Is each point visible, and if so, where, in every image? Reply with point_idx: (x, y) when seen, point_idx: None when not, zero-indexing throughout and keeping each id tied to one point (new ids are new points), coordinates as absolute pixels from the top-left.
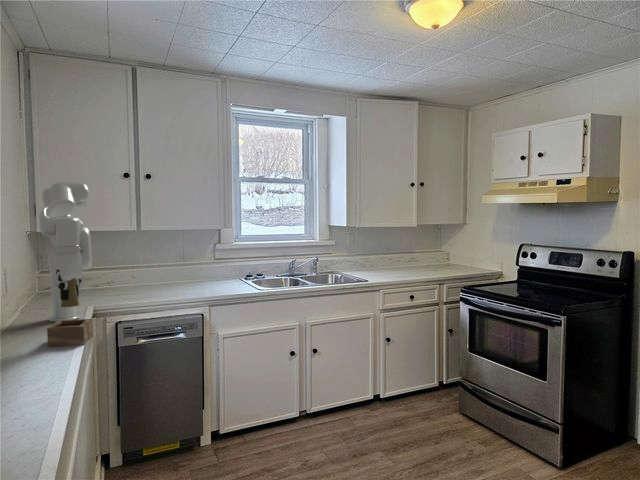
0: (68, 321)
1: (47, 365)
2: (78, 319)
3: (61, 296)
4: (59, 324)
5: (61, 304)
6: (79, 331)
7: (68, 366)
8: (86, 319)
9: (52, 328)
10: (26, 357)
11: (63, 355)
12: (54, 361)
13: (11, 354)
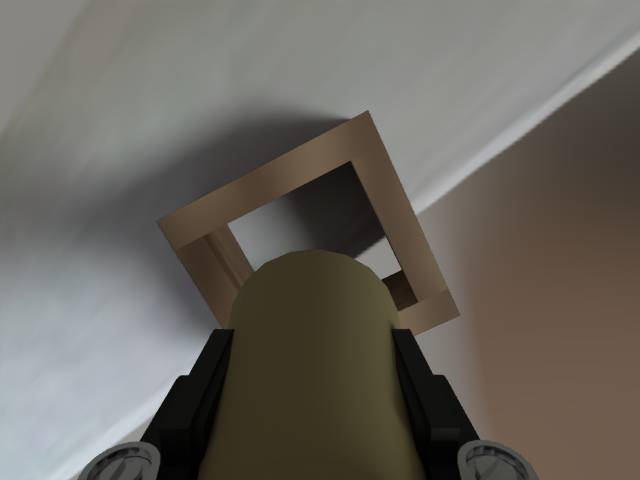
0: (369, 200)
1: (16, 396)
2: (421, 241)
3: (177, 391)
4: (301, 184)
5: (237, 301)
6: None
7: (43, 471)
8: (432, 294)
9: (175, 249)
10: (45, 232)
11: (131, 364)
12: (60, 386)
13: (44, 117)
